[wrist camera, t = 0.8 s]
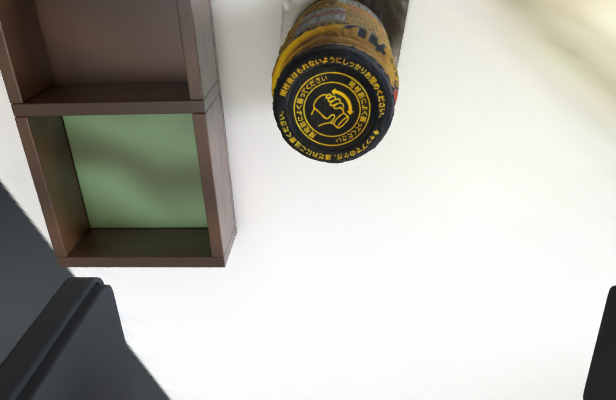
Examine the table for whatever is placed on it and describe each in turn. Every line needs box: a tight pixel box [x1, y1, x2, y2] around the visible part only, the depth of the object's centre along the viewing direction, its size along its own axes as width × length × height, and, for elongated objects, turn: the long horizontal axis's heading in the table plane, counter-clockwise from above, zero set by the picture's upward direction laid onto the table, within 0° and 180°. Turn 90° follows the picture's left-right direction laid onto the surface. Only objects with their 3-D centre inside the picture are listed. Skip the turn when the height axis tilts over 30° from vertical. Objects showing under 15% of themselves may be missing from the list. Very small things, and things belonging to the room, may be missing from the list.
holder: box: [0, 0, 237, 267], centre depth 34 cm, size 22×11×4 cm, turn 2°
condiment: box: [272, 0, 409, 163], centre depth 28 cm, size 7×8×12 cm
